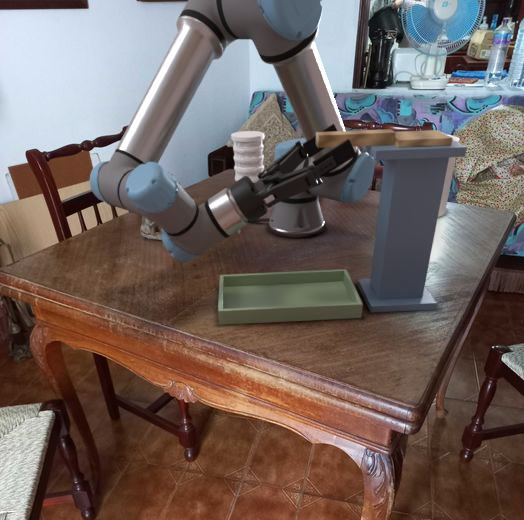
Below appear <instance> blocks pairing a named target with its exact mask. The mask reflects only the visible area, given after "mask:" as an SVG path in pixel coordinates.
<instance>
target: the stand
mask: <svg viewBox="0 0 524 520" xmlns="http://www.w3.org/2000/svg"><path fill="white" fill-rule="evenodd" d="M361 148H362V149H363V150H364V151H365V152H366V153H367V154H369V155H370V156H371V157H372V158H373V159H374V161H383V168H382V169H383V170H382V175H381V185H380V193H379V203H378V210H377V211H378V212H377V219H376V228H375V237H374V246H373V255H372V263H371V270H370V278H358V279H357V283H356V284H357V287H358V290H359V291H360V294H361V295H362V298H363V300H364V302H365V304H366V306H367V309H368V311H369V312H370V313H371V314H373V313H374V314H375V313H393V312H412V311H413V312H414V311H416V312H417V311H433V310H434V311H435V310H436V309H437V301H436V300H435V299H434V297H433V296H432V295H431V293H430V292H429V290H428V289H427V288H426V282H427V281H426V280H427V277H428V271H429V265H430V261H431V255H432V250H433V249H432V248H433V245H434V239H435V235H436V230H437V229H436V228H437V224H438V220H439V219H438V218H439V217H438V213H439V208H440V203H441V198H442V192H443V187H444V182H445V177H446V171H447V166H448V161H449V157H456V158H465V157H466V154H467V149H468V146H466V145H464V144H462V143H460V142H459V143H458V142H456V141H454V140H452V145H451V146H426V147H401V148H398V147H397V146H395V145H380V146H361Z"/></svg>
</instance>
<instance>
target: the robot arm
mask: <svg viewBox="0 0 524 520" xmlns="http://www.w3.org/2000/svg"><path fill="white" fill-rule="evenodd" d="M322 1H323V0H187V2H186V4H185V5H184V7H183V9H182V11H181V13H180V15H179V16H178V18H177V20H176V26H175V27H176V28H177V33H176V35H175V37H174V39H173V41H172V42H171V44H170V46H169V48H168V50H167V52H166V54H165V56H164V57H163V59H162V62H161V63H160V65H159V67H158V69H157V71H156V73H155V74H154V76H153V79H152V80H151V81H150V84H149V86H148V88H147V89H146V92H145V93H144V95H143V97H142V99H141V101H140V103H139V105H138V107H137V108H136V110H135V112H134V115H133V116H132V118H131V120H130V122H129V124H128V125H127V128H126V130H125V131H124V133H123V135H122V137H121V139H120V141H119V143H118V145H117V147H116V148H115V150H114V152H113V153H112V155H111V157H110V159H109V160H107V161H106V160H105V161H100V162H99V163H98V164H96V165H94V167H92V170H91V171H90V173H89V186H90V190H91V192H92V193H93V195H94V196H95V197H96V198H97V199H98V200H100V201H101V202H104V203H106V204H107V205H108V206H110V207H114V208H118V209H122V210H125V211H128V212H130V213H133V214H135V215H137V216H141V217H142V216H143V217H146V218H149V219H151V220H153V221H154V222H155V223H156V224H157V225H159V226H160V227H161V228H162V229H163V231H162V233H161V238H162V240H161V241H162V244H163V246H164V248H165V250H166V251H167V252H168V253H169V254H170V256H171V257H172V258H173V259H174V260H175V261H176V262H179V263H182V264H184V263H188V262H190V261H193V259H196V258H198V257H200V256H202V255H203V254H204V253H206V252H207V251H209V250H210V249H212V248H213V247H215V246H217V245H218V244H220V243H221V242H223V241H224V240H226V239H227V238H229V237H231V236H232V235H234V234H235V233H236V234H238V235H239V234H240V233H241V232H242V229H245V228H246V226H248V225H249V223H261V222H268V228H269V231H270V232H271V233H272V234H273V235H276V236H280V237H283V238H290V239H291V238H293V239H299V238H300V239H301V238H309V237H314V236H317V235H319V234H320V233H322V232H323V231H324V229H325V220H324V217H323V212H322V207H321V205H320V202H319V197H320V198H324V199H328V200H332V201H335V202H340V203H342V204H345V203H347V204H356V203H358V202H360V201H361V200H362V199H363V198H364V197H365V196H366V194H367V193H368V191H369V188H370V187H371V185H372V181H373V178H374V173H375V159H374V158H372V157H371V156H370V155H369V154H368V153H367V152H366V151H365V152H362V151H360V149H359V146H354V147H353V146H352V144H351V142H350V140H349V139H347V140H346V141H344V142H343V143H341V144H339V145H338V146H336V147H329V148H318V147H317V146H316V132H333V131H346V129H345V126H344V123H343V119H342V118H341V115H340V112H339V109H338V106H337V103H336V100H335V98H334V95H333V91H332V89H331V85H330V83H329V80H328V77H327V74H326V72H325V71H326V70H325V68H324V65H323V63H322V60H321V57H320V53H319V51H318V47H317V45H316V42H315V40H316V38H317V36H318V33H319V25H320V22H321V20H322V19H321V18H322V15H323V9H324V7H323V6H322V4H321V2H322ZM238 40H251V41H252V42H253V45H254V47H255V49H256V51H257V54H258V56H259V58H260V60H261V61H262V62H263V63H264V64H268V65H272V66H273V69H274V71H275V73H276V76H277V78H278V80H279V82H280V85H281V88H282V90H283V92H284V93H285V96H286V98H287V100H288V103H289V105H290V107H291V109H292V112H293V115H294V116H295V119H296V121H297V123H298V126H299V128H300V130H301V132H302V134H303V137H302V138H301V137H300V138H294V139H290V140H289V139H288V140H284V141H281V142H279V143H277V144H276V146H275V152H274V160H273V161H274V162H273V163H272V164H271V165H269V166H267V168H266V169H265V168H264V170H263V171H262V172H261V173H259V174H258V175H257V176H258V178H259V180H258V181H257V182H256V183H253V182H252V180H251V179H250V178H249V177H248V176H244V177H242V178H241V179H239V180H238V181H235V182H233V183H232V184H230V186H229V188H228V187H225V188H224V189H222V190H221V191H219V192H217V193H216V194H214V195H212V196H211V197H210V198H209V199H207V200H206V201H204V202H202V203H201V204H199V205H198V203H196V201H195V200H194V199H193V198H192V197H191V196H190V195H189V194H188V193H187V191H186V190H185V189H184V188H183V187H182V185H181V184H180V185H181V186H180V185H179V184H178V182H179V181H177V180H176V178H175V176H174V175H173V176H172V175H171V174H172V173H170V172H169V171H168V170H167V169H165V168H164V167H163V166H162V165H161V164H160V163H159V162H160V160H161V159H162V157H163V155H164V153H165V151H166V149H167V148H168V146H169V143H170V141H171V139H172V138H173V136H174V134H175V132H176V131H177V128H178V127H179V125H180V122H181V121H182V120H183V117H184V115H185V114H186V111H187V110H188V108H189V106H190V104H191V103H192V100H193V99H194V97H195V95H196V93H197V91H198V89H199V87H200V86H201V83H202V82H203V80H204V78H205V76H206V74H207V73H208V71H209V69H210V67H211V65H212V64H213V61H215V60H219V59H221V57H222V56H223V54H224V52H225V51H226V49H227V48H228V46H230V45H231V44H232V43H233V42H235V41H238ZM193 200H194V201H193ZM272 207H273V208H272ZM270 208H272V211H271V215H270V217H265V218H264V216H265V215H266V214H267V213H268V209H270Z"/></svg>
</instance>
